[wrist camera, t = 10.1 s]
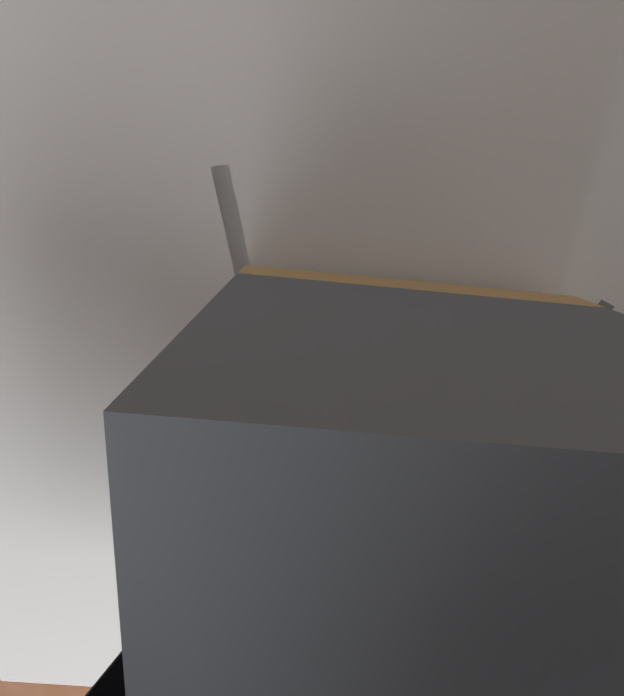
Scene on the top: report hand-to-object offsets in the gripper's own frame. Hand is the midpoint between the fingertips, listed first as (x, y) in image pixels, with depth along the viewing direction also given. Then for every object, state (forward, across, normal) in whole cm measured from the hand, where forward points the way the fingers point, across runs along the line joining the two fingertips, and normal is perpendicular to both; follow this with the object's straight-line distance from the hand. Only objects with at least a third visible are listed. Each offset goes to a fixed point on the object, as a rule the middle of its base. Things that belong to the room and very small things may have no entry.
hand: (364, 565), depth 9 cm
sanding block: (0, 0, -1) cm, 1 cm away
